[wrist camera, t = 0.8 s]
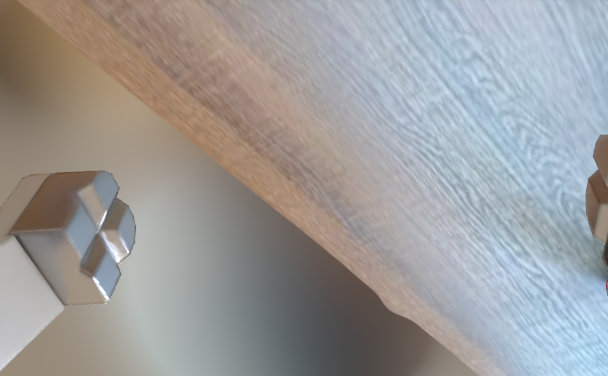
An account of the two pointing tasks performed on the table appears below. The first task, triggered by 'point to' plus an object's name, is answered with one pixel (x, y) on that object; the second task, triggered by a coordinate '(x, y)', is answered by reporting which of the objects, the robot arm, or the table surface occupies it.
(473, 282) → the table surface
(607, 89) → the table surface
